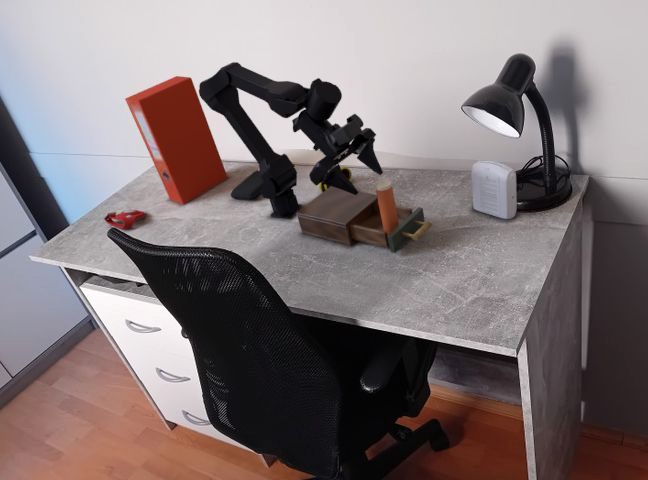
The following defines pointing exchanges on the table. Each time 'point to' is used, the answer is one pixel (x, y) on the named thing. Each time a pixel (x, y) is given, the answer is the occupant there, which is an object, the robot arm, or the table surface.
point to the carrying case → (248, 188)
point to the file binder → (178, 138)
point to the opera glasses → (345, 171)
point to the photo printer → (494, 189)
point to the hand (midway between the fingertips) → (369, 183)
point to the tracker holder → (124, 218)
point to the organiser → (334, 214)
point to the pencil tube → (387, 205)
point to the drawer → (410, 226)
